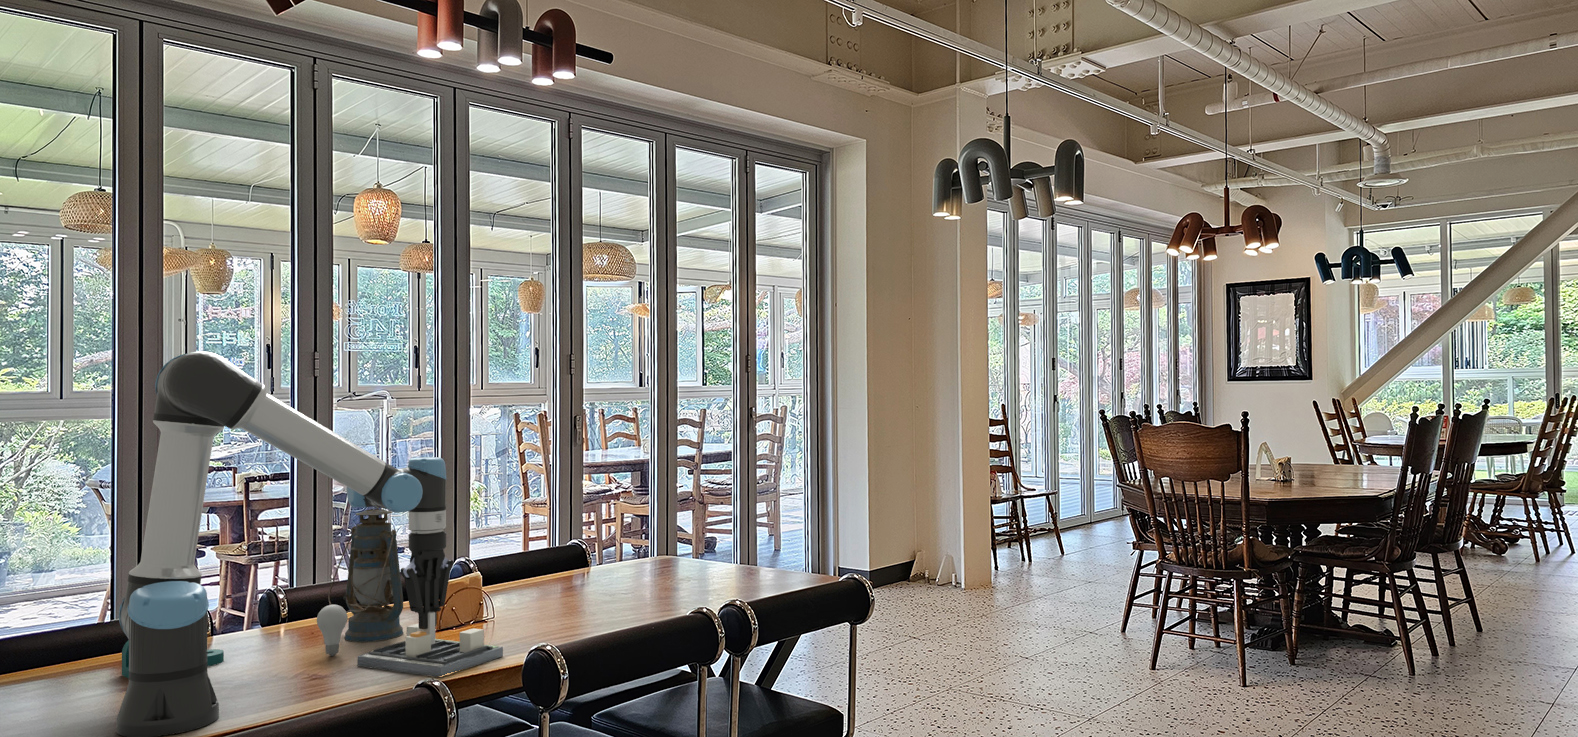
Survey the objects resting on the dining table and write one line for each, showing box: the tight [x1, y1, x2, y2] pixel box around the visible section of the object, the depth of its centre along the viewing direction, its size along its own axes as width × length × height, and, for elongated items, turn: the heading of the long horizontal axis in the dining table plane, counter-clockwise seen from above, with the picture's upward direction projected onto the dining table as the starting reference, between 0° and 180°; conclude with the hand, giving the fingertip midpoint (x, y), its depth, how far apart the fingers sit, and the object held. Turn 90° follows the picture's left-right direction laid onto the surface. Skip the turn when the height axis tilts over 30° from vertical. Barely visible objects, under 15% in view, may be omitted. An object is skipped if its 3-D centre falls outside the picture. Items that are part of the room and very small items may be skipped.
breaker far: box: [406, 622, 420, 637], centre depth 226 cm, size 4×3×4 cm
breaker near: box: [459, 628, 485, 652], centre depth 220 cm, size 4×3×4 cm
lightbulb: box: [316, 604, 349, 657], centre depth 225 cm, size 6×6×11 cm
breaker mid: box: [405, 631, 431, 657], centre depth 216 cm, size 4×3×5 cm
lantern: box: [327, 507, 404, 643], centre depth 243 cm, size 19×14×30 cm
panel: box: [356, 638, 504, 678], centre depth 219 cm, size 18×23×3 cm
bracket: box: [121, 639, 225, 679], centre depth 216 cm, size 18×7×8 cm, turn 141°
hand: (427, 643), depth 218 cm, fingers closed
